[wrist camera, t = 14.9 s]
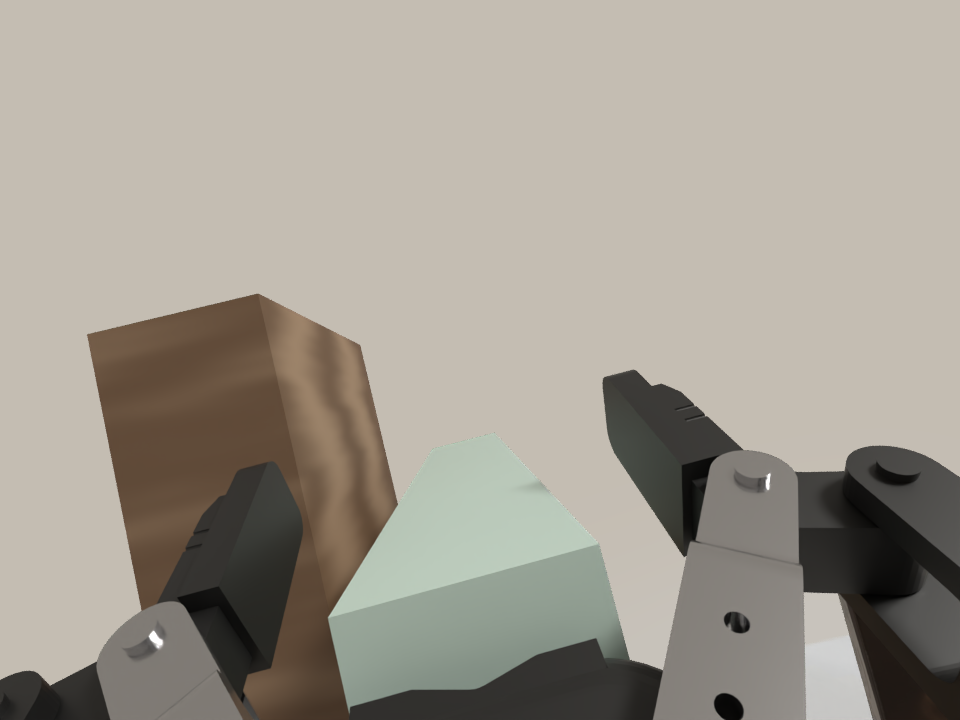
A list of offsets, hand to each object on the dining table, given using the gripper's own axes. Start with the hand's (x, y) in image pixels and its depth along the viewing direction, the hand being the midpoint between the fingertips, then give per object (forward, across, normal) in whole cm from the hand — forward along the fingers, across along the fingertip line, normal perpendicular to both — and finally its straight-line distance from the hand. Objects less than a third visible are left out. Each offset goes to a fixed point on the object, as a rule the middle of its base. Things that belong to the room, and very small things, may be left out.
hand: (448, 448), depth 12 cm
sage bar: (+4, 0, +8) cm, 8 cm away
